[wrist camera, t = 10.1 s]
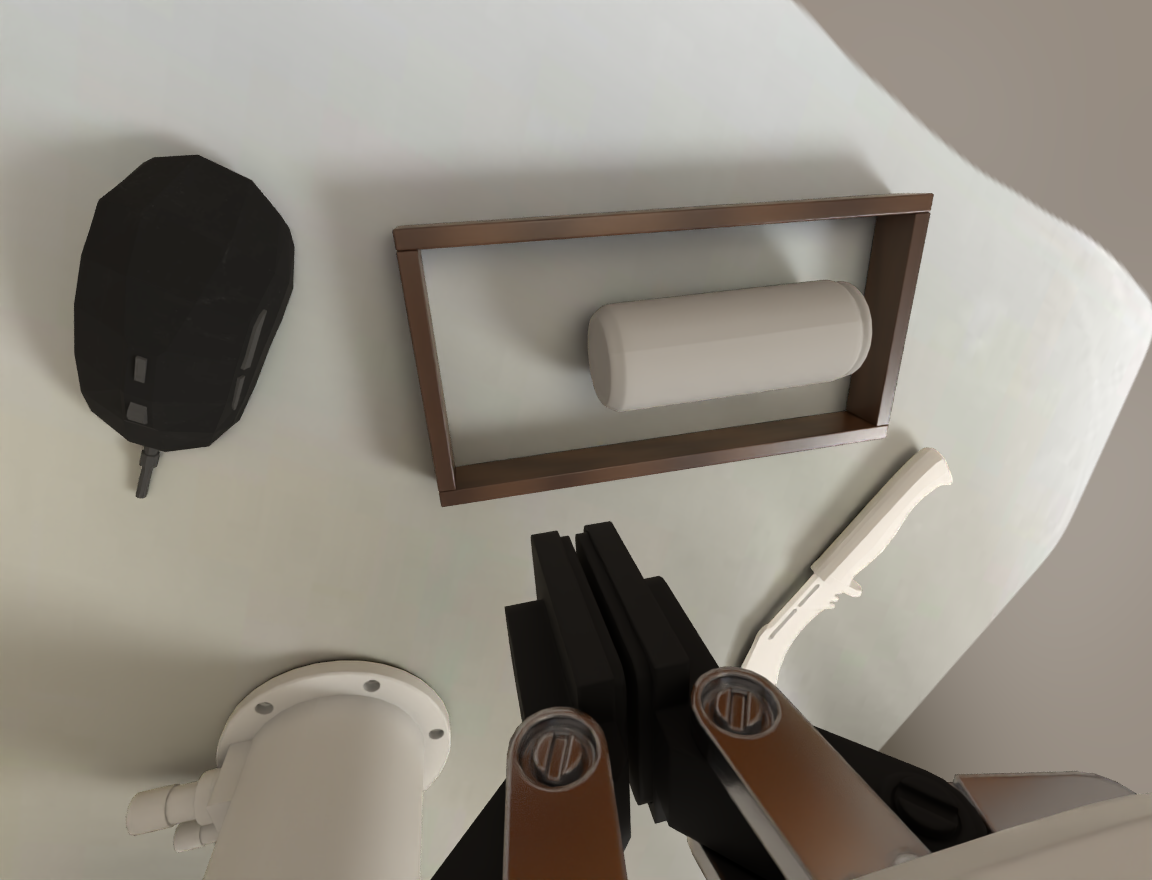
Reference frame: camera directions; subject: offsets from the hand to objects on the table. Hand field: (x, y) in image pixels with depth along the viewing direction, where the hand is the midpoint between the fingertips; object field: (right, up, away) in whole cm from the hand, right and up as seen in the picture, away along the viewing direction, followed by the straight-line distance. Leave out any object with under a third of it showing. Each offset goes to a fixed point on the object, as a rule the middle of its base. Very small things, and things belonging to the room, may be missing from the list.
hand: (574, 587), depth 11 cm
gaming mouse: (-16, +7, +11) cm, 21 cm away
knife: (+15, -10, +27) cm, 33 cm away
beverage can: (+1, +7, +13) cm, 15 cm away
